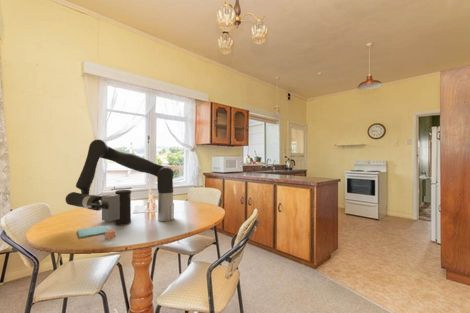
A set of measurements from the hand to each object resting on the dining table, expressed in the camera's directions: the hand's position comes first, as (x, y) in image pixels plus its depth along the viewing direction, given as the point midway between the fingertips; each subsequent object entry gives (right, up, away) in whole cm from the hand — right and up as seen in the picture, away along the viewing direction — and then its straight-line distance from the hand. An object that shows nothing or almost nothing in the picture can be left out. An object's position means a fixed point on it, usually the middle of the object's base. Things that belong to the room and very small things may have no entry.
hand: (113, 205), depth 111 cm
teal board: (-16, -16, +9) cm, 24 cm away
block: (-2, -16, +1) cm, 16 cm away
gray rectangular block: (-2, -7, +1) cm, 7 cm away
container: (-8, -16, +25) cm, 31 cm away
